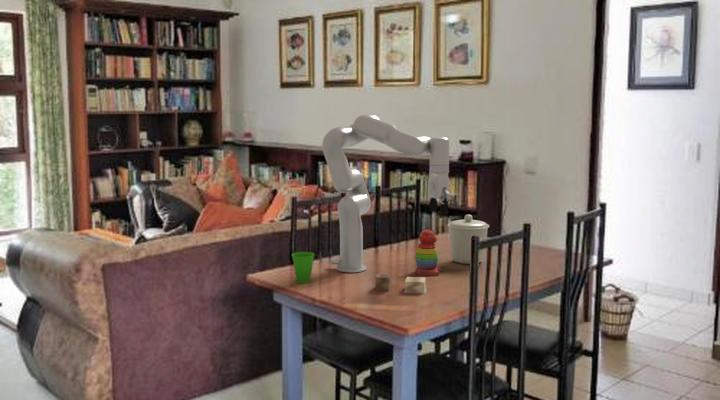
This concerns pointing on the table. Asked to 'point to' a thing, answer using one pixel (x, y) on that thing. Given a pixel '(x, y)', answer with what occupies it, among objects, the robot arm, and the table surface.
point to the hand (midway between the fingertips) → (438, 212)
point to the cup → (303, 266)
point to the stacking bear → (427, 254)
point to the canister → (465, 238)
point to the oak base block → (415, 284)
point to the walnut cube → (383, 282)
